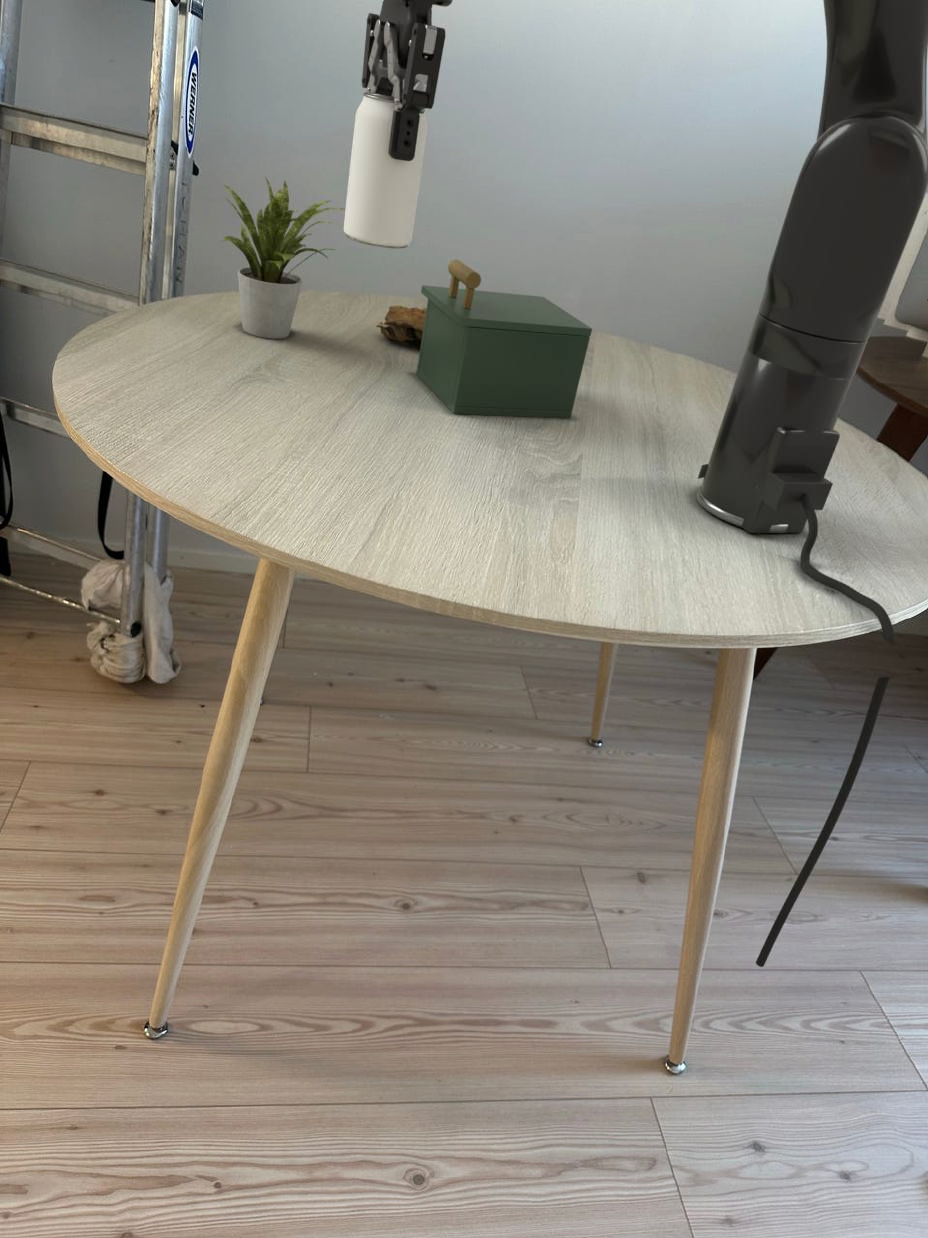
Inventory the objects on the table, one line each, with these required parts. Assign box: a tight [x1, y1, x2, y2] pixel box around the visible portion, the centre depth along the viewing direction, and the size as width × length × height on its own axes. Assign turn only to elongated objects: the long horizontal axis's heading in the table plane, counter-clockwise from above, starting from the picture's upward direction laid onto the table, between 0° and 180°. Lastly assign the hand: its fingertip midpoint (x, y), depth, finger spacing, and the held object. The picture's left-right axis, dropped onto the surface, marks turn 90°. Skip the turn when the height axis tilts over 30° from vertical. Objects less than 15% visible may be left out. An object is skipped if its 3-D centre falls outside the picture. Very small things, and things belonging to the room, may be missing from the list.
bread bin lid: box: [420, 259, 593, 337], centre depth 101 cm, size 14×12×4 cm
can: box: [343, 92, 429, 249], centre depth 90 cm, size 6×6×12 cm
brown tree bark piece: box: [375, 305, 427, 342], centre depth 120 cm, size 11×4×15 cm
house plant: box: [219, 176, 346, 339], centre depth 108 cm, size 14×14×16 cm
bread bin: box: [415, 298, 591, 419], centre depth 105 cm, size 14×12×9 cm
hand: (388, 151), depth 89 cm, fingers closed on can, 6 cm apart
